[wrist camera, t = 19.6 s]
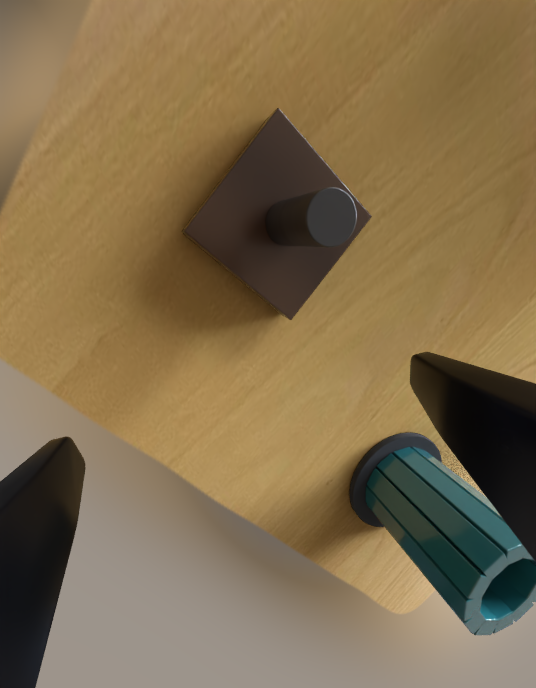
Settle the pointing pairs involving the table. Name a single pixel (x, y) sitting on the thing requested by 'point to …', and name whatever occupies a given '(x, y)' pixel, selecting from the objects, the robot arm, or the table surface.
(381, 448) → the pad
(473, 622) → the slatted teal pen holder
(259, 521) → the table surface
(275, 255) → the stand
